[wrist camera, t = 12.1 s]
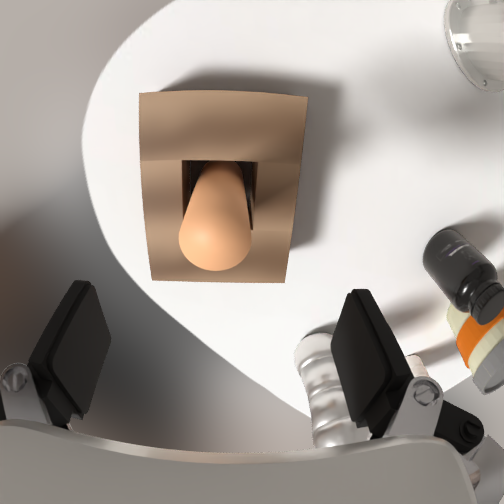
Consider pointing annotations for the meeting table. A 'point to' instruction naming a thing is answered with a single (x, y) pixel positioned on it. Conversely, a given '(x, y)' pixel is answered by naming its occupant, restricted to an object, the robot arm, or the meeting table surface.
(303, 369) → the plastic bottle
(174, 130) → the socket block
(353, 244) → the meeting table surface
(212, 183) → the peg
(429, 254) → the supplement bottle
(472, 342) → the reusable coffee cup
